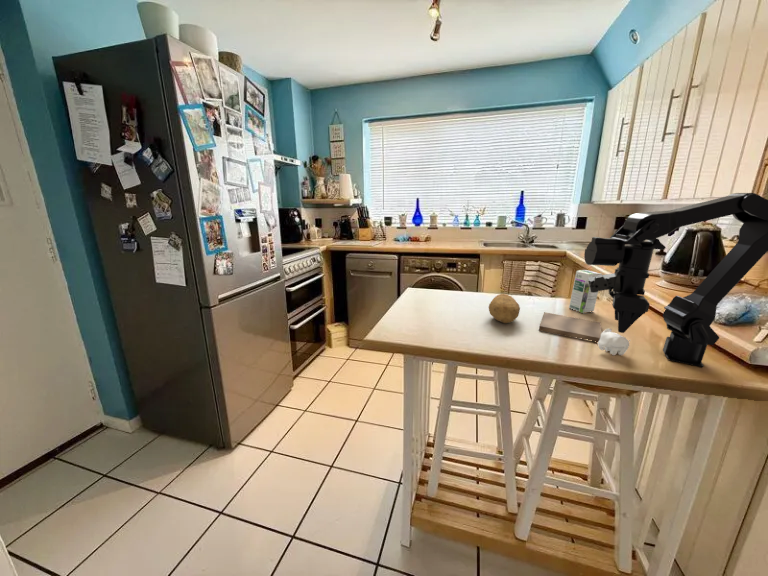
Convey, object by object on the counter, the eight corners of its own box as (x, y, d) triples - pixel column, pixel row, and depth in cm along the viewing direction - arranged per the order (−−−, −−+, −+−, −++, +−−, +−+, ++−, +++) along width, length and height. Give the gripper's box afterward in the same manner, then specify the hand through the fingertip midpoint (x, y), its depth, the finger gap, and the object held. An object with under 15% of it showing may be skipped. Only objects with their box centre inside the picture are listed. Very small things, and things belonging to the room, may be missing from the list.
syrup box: (568, 308, 113) (575, 270, 109) (580, 307, 114) (588, 269, 110) (581, 314, 107) (589, 274, 103) (594, 312, 109) (603, 273, 105)
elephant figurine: (588, 346, 84) (592, 326, 82) (617, 347, 84) (622, 327, 82) (605, 359, 77) (610, 337, 76) (637, 359, 77) (643, 338, 76)
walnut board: (599, 326, 97) (600, 322, 97) (601, 343, 86) (602, 338, 85) (543, 316, 105) (544, 312, 105) (538, 330, 94) (539, 325, 93)
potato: (487, 326, 96) (489, 302, 94) (487, 311, 109) (489, 290, 106) (520, 331, 93) (524, 306, 91) (517, 315, 106) (520, 293, 103)
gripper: (592, 257, 86) (582, 309, 90) (595, 269, 70) (582, 331, 75) (643, 261, 80) (629, 317, 84) (657, 276, 65) (639, 343, 69)
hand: (619, 326), depth 78 cm, fingers open, 9 cm apart
